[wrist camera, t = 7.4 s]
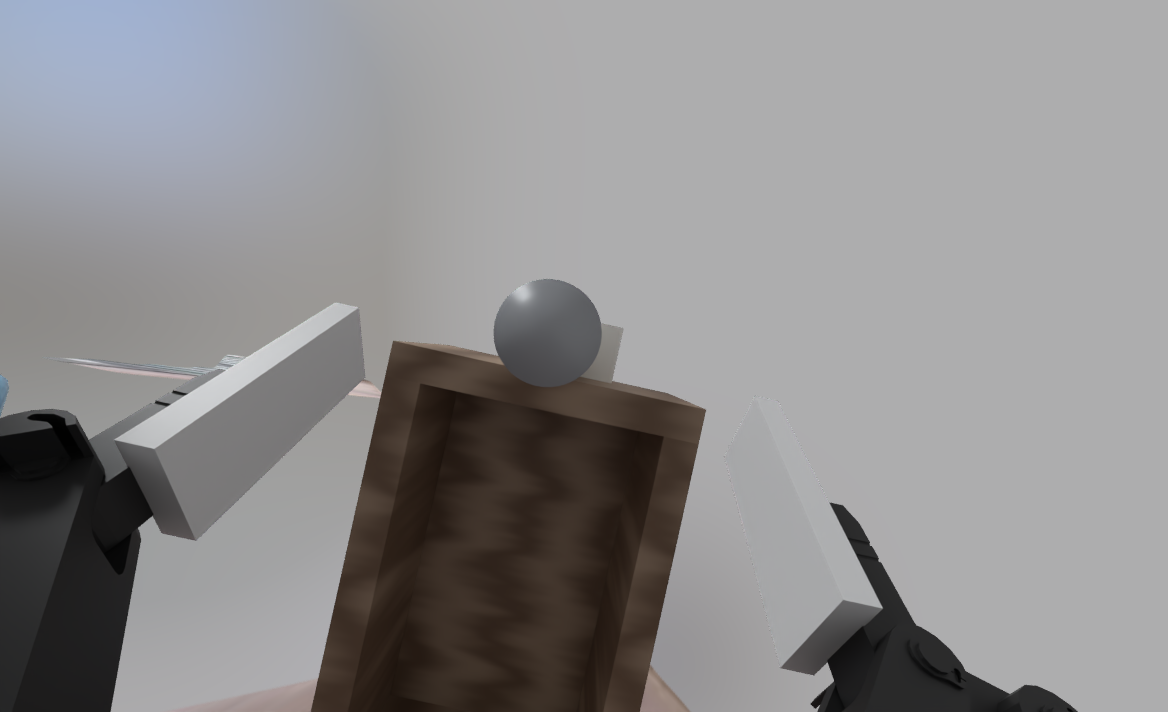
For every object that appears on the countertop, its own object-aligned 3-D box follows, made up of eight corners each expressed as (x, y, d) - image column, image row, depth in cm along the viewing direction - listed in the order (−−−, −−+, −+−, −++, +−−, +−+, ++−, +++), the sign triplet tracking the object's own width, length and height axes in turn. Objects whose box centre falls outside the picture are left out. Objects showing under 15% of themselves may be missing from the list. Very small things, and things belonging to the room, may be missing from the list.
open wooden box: (284, 830, 23) (393, 340, 23) (372, 687, 33) (448, 345, 33) (599, 894, 24) (706, 409, 24) (592, 733, 34) (667, 393, 34)
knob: (641, 409, 15) (664, 304, 15) (429, 362, 15) (453, 256, 15) (607, 380, 33) (617, 331, 33) (509, 358, 33) (520, 309, 33)
